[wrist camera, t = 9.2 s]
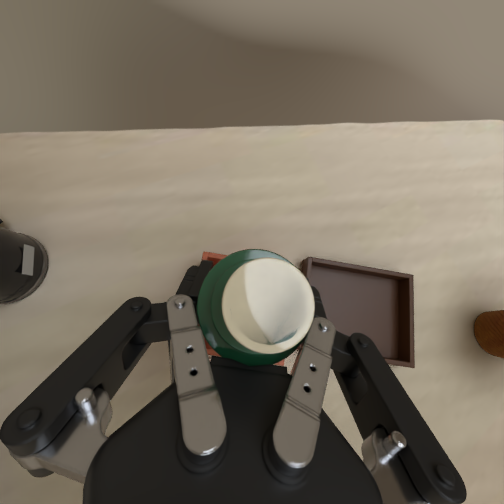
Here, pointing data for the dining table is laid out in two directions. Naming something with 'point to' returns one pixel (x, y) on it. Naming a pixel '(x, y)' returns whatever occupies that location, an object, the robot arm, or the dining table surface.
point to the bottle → (255, 307)
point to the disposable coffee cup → (491, 332)
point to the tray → (367, 305)
